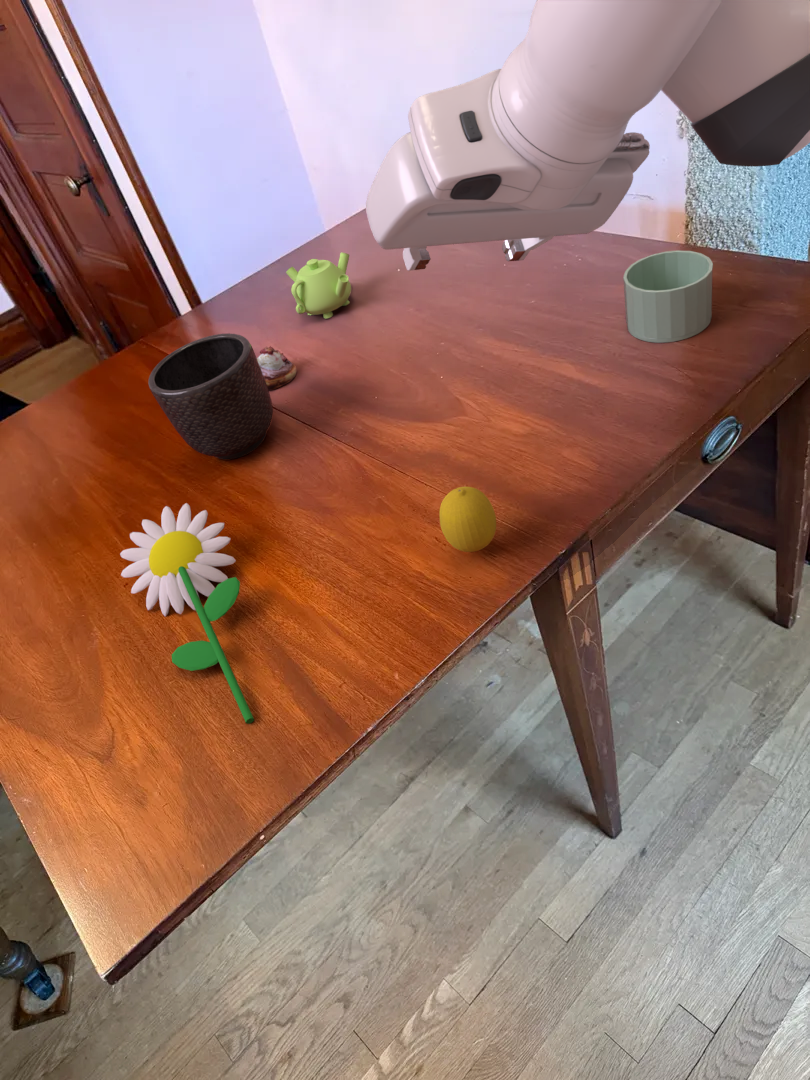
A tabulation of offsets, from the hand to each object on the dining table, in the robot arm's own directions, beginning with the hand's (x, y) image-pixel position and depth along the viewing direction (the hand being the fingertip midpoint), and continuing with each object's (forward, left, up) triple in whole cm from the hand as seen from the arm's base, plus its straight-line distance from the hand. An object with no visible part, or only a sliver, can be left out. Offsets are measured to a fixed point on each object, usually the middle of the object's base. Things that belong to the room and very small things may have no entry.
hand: (463, 258), depth 63 cm
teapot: (+62, -12, -27) cm, 69 cm away
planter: (+39, +17, -27) cm, 50 cm away
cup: (+10, -35, -27) cm, 45 cm away
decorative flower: (+10, +34, -27) cm, 45 cm away
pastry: (+50, +6, -27) cm, 57 cm away
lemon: (-3, +8, -27) cm, 28 cm away
